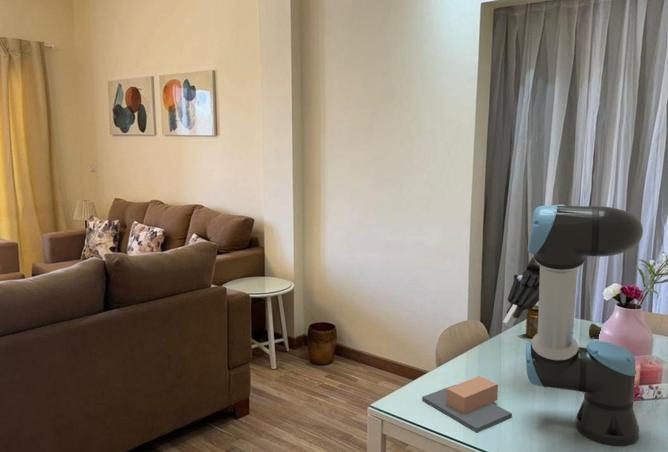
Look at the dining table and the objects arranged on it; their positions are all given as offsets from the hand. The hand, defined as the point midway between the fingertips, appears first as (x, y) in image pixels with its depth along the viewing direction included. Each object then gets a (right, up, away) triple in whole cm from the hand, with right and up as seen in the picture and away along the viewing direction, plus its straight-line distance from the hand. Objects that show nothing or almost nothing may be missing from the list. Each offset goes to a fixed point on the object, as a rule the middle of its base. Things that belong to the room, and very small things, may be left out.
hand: (506, 324), depth 165 cm
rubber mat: (-14, -24, -5) cm, 28 cm away
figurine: (+25, -16, +34) cm, 45 cm away
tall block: (-6, -19, -1) cm, 20 cm away
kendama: (+53, -13, +47) cm, 72 cm away
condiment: (+25, -14, +48) cm, 56 cm away
